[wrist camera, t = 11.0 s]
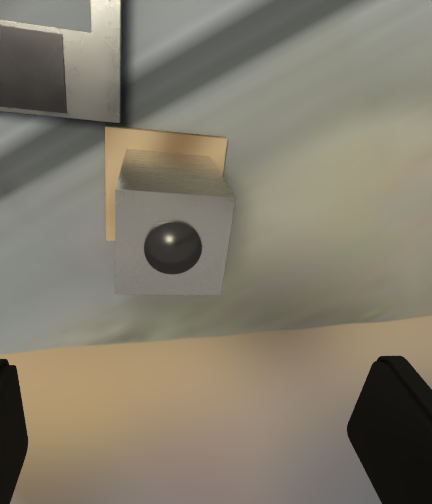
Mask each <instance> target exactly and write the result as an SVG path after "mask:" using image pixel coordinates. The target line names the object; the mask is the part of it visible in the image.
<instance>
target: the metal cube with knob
mask: <svg viewBox="0 0 432 504" xmlns="http://www.w3.org/2000/svg"><path fill="white" fill-rule="evenodd" d="M235 200H236V197H235V196H234V194H233V193H232V191H231V190H230V188H229V187H228V185H227V183H226V182H225V180H224V179H223V177H222V176H221V174H220V173H219V171H218V170H217V168H216V167H215V165H214V164H213V162H212V160H211V159H210V157H209V156H203V155H192V154H181V153H170V152H160V151H149V150H138V149H127V148H126V152H125V156H124V159H123V163H122V167H121V170H120V174H119V177H118V181H117V185H116V188H115V294H141V295H209V296H221V291H222V285H223V278H224V272H225V265H226V258H227V252H228V245H229V239H230V232H231V226H232V219H233V213H234V206H235Z"/></svg>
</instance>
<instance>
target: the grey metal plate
mask: <svg viewBox="0 0 432 504" xmlns="http://www.w3.org/2000/svg"><path fill="white" fill-rule="evenodd" d="M91 31H92V33H87V32H80V31H73V30H66V29H60V28H53V27H46V26H39V25H32V24H25V23H19V22H12V21H5V20H0V111H5V112H15V113H25V114H35V115H44V116H54V117H64V118H74V119H84V120H93V121H103V122H113V123H120V122H121V120H122V45H123V0H91Z"/></svg>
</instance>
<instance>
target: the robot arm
mask: <svg viewBox="0 0 432 504" xmlns="http://www.w3.org/2000/svg"><path fill="white" fill-rule="evenodd" d="M347 432H348V437H349V439H350V442H351V443H352V445H353V447H354V449H355V451H356V453H357V455H358V457H359V459H360V461H361V463H362V465H363V467H364V469H365V471H366V473H367V475H368V477H369V479H370V481H371V483H372V485H373V487H374V489H375V491H376V493H377V495H378V496H379V498H380V500H381V502H382V504H432V389H430V387H429V386H428V385H427V384H426V382H425V381H424V380H423V379H422V378H421V377H420V375H419V374H418V373H417V372H416V370H415V369H414V368H413V367H412V366H411V364H410V363H409V362H408V361H407V360H406V359H405V358H404V357H402V356H380V357H379V358H378V360H377V361H375V362H374V363H373V364H372V366H371V369H370V371H369V374H368V376H367V379H366V381H365V384H364V386H363V388H362V391H361V393H360V396H359V398H358V400H357V403H356V405H355V408H354V410H353V413H352V415H351V418H350V420H349V422H348V426H347ZM27 447H28V436H27V430H26V424H25V417H24V411H23V406H22V399H21V393H20V386H19V380H18V374H17V369H16V366H15V365H9V363H8V360H7V359H0V504H10V501H11V498H12V495H13V492H14V489H15V486H16V483H17V480H18V477H19V474H20V471H21V468H22V466H23V462H24V459H25V456H26V453H27Z"/></svg>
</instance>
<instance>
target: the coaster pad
mask: <svg viewBox="0 0 432 504" xmlns="http://www.w3.org/2000/svg"><path fill="white" fill-rule="evenodd" d="M226 146H227V138H226V137H218V136H208V135H198V134H188V133H178V132H168V131H158V130H148V129H138V128H128V127H118V126H108V125H106V126H105V164H106V241H115V188H116V185H117V181H118V177H119V174H120V170H121V167H122V163H123V159H124V156H125V152H126V148H127V149H138V150H149V151H160V152H170V153H181V154H192V155H203V156H209V157H210V159H211V160H212V162H213V164H214V165H215V167H216V168H217V170H218V171H219V173H220V174H221V176H222V177H223V169H224V161H225V154H226Z"/></svg>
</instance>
